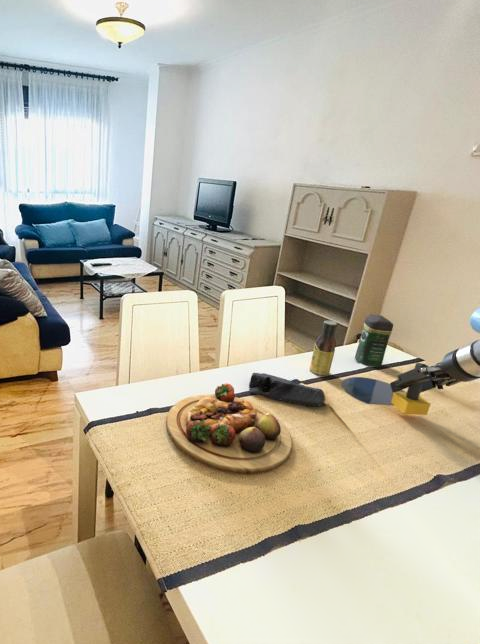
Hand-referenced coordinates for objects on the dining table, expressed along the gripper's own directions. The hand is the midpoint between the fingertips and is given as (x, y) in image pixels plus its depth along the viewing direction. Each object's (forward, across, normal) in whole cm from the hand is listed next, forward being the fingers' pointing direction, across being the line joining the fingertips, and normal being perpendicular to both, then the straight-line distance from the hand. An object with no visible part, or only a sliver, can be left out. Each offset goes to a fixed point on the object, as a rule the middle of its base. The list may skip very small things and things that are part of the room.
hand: (404, 388), depth 109 cm
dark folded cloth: (+13, -29, 0) cm, 32 cm away
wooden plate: (-3, -53, -15) cm, 55 cm away
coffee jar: (+30, +11, +18) cm, 37 cm away
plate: (+14, 0, +1) cm, 14 cm away
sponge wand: (+1, 0, -6) cm, 6 cm away
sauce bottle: (+22, -12, +10) cm, 27 cm away
